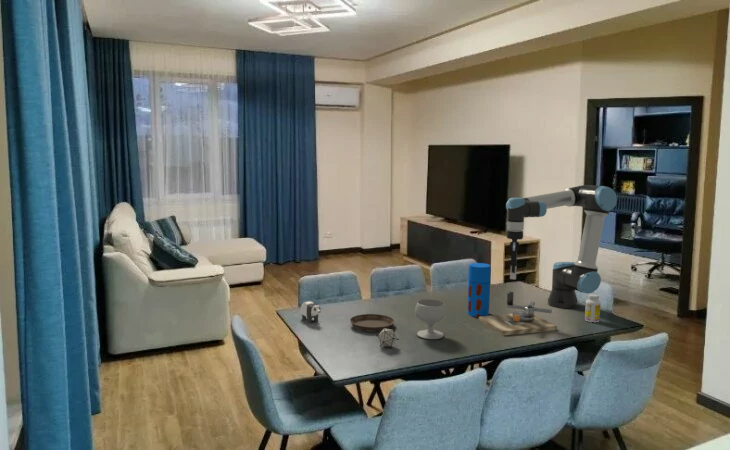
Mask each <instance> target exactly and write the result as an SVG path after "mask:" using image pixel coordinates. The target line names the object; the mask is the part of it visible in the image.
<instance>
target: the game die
mask: <svg viewBox="0 0 730 450" xmlns="http://www.w3.org/2000/svg"><path fill="white" fill-rule="evenodd" d="M375 337H377V339H378V340H379V343H380V345H379V347H382V346H384V347H387V348H388V347H389V348H390V349H391V350H392V349H393V347H392V346H393V345H394V344H395V343H396V341H399V338H397V335H396V333H395V327H394V328H393V329H392V328H389V329H386V328H384V327H383V330H382V331H379V334H378V335H376V334H375Z"/></svg>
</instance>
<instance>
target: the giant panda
mask: <svg viewBox="0 0 730 450" xmlns="http://www.w3.org/2000/svg"><path fill="white" fill-rule="evenodd" d="M321 310H322V308H321V306H319V303H316V304H315V303H314V302H313V301H305V302H303V303H302V304H301V306H300V315H301V319H302V320H303V321H306V319H307V323H308V324H312V323H313V322H315V323H318V321H319V315H320V314H321V313H322V311H321ZM312 320H313V321H312Z"/></svg>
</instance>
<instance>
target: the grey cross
mask: <svg viewBox="0 0 730 450" xmlns="http://www.w3.org/2000/svg"><path fill="white" fill-rule="evenodd" d="M535 305H536V302H535V301H530V302H529V304H527V305H520V304H514V291H507V294H506V307H507V308H508V309H515V311H513V312H512V314H513V315H515V314H518V315H520V317H521V319H520V321H524V322H529V321H533V320H534V317H535V315H536V314H535V312H538V313H544V314H545V313H546V314H552V313H553V309H549V308H541V307H535ZM516 309H517V310H516ZM512 318H513V316H512Z"/></svg>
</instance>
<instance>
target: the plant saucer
mask: <svg viewBox="0 0 730 450" xmlns="http://www.w3.org/2000/svg"><path fill="white" fill-rule="evenodd" d="M349 321H350V324H351V326H353V327H354V328H355V329H357V330H360V331H362V332H367V333H368V332H370V333H376V332H377V333H378V332H379V333H380V332H381V331H382V330H383V327H384V328H386V329H391V327H393V325H394V323H395V319H394V318H392V317H390V316H388V315H383V314H379V313H378V314H377V313H364V314H363V313H362V314H358V315H355V316H352V317H351V318H350V319H349Z"/></svg>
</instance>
